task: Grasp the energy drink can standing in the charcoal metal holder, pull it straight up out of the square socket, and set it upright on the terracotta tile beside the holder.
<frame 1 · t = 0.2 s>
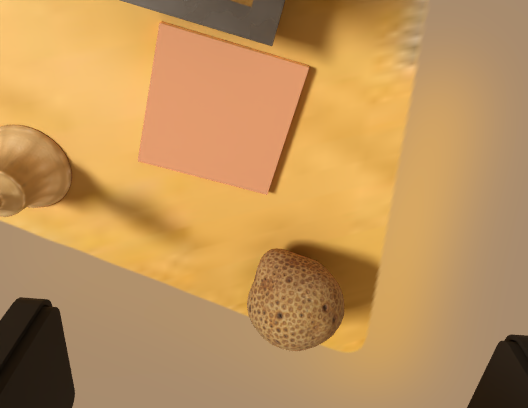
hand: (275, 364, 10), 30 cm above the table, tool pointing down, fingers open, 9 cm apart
terracotta tile: (219, 113, 38), on the table
hand bell: (27, 166, 42), on the table
natural sponge: (292, 266, 47), on the table
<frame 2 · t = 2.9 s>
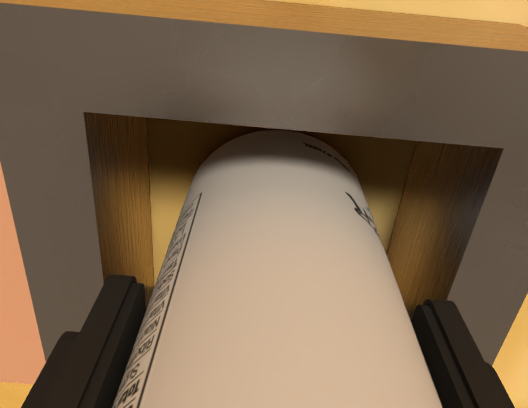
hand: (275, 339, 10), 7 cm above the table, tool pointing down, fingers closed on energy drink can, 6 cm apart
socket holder: (274, 199, 16), on the table
energy drink can: (274, 197, 16), resting in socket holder, touching gripper
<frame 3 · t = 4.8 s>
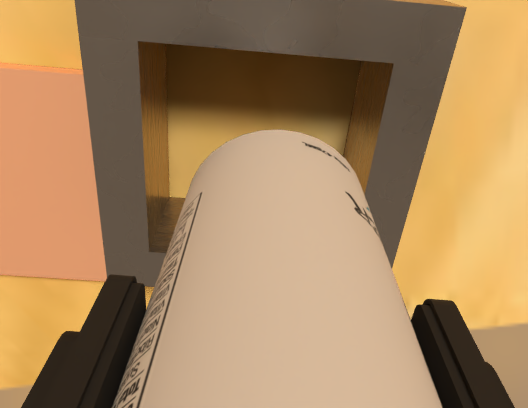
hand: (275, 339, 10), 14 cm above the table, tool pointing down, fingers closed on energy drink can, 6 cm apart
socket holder: (258, 124, 22), on the table
energy drink can: (274, 196, 16), point 7 cm above the table, touching gripper
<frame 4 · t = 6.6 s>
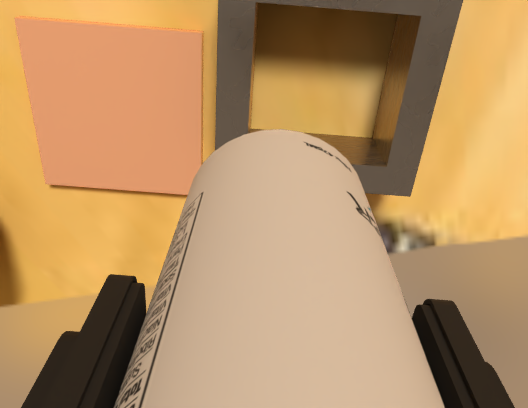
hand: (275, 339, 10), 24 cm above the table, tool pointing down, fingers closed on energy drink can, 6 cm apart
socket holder: (319, 71, 31), on the table
energy drink can: (275, 196, 16), point 17 cm above the table, touching gripper
terracotta tile: (120, 111, 32), on the table
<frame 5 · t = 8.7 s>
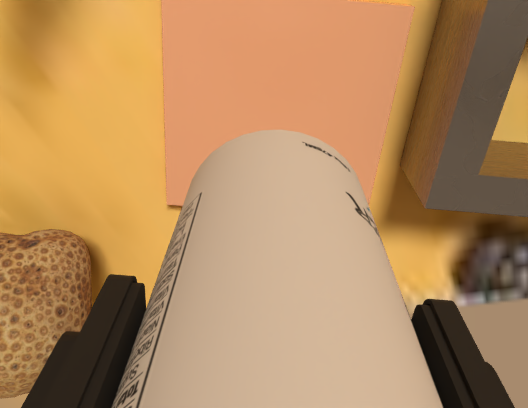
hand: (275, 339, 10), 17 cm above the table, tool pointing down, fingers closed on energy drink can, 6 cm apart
energy drink can: (275, 197, 16), point 10 cm above the table, touching gripper
terracotta tile: (276, 112, 25), on the table
natural sponge: (52, 251, 30), on the table
when the fingers open (9 cm above the table, at t = 10.5 s): energy drink can drops 1 cm, resting on terracotta tile.
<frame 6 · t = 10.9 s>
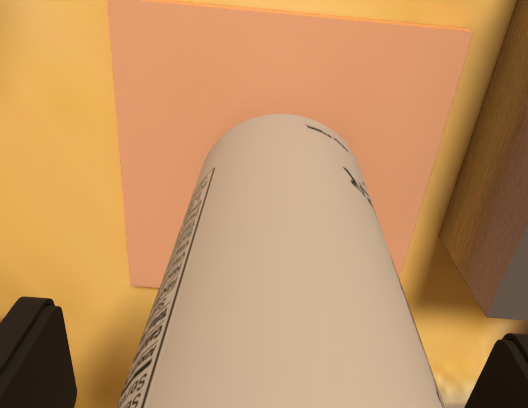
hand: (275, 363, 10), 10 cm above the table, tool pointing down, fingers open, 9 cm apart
energy drink can: (280, 177, 18), point 1 cm above the table, touching terracotta tile
terracotta tile: (274, 170, 18), on the table
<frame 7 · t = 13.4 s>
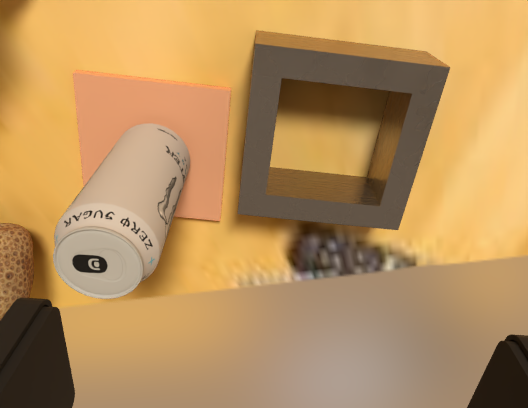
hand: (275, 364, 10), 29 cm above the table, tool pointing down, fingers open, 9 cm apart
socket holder: (326, 123, 37), on the table
energy drink can: (156, 152, 38), point 1 cm above the table, touching terracotta tile
terracotta tile: (155, 149, 38), on the table
natural sponge: (8, 238, 43), on the table
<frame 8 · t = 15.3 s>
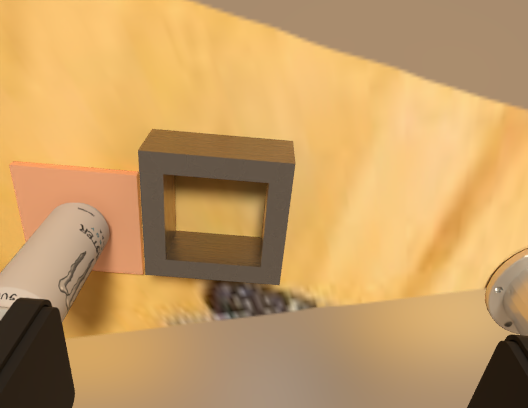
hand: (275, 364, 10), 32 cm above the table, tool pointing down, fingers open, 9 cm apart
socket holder: (220, 196, 45), on the table
energy drink can: (83, 222, 46), point 1 cm above the table, touching terracotta tile
terracotta tile: (83, 219, 46), on the table
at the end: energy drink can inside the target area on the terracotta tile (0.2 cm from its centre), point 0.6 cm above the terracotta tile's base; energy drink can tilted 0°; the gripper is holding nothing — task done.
